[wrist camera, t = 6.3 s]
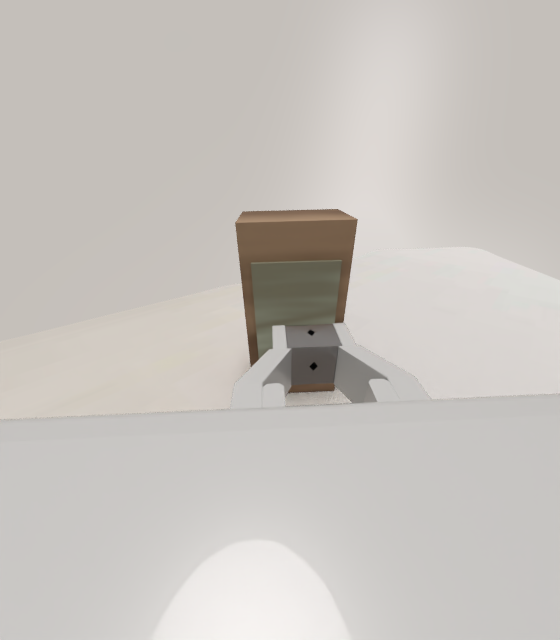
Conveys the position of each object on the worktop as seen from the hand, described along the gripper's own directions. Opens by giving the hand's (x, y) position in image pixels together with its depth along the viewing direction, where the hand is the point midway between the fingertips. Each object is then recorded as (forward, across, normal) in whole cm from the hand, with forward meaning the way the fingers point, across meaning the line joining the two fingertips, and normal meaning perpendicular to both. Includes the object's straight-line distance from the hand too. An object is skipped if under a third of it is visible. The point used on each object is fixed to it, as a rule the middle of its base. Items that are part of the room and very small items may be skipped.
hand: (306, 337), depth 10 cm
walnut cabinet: (+6, 0, +8) cm, 10 cm away
